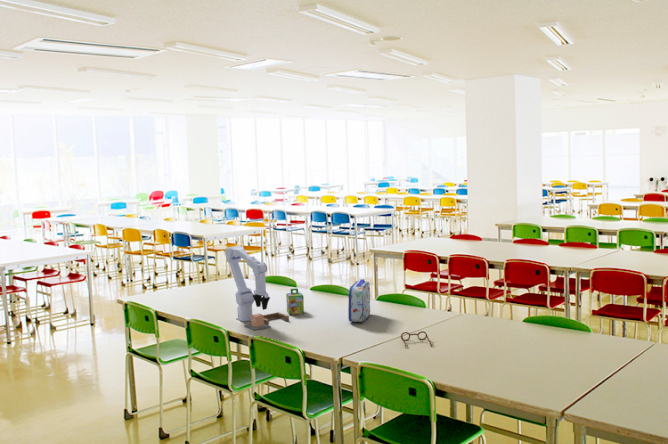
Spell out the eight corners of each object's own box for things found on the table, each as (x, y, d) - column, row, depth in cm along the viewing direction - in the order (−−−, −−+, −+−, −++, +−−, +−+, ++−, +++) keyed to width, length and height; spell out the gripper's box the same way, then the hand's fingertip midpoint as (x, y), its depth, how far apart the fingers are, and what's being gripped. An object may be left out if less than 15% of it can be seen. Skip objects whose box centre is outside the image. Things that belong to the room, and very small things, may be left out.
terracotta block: (251, 325, 325) (251, 315, 324) (259, 323, 328) (259, 313, 327) (255, 327, 321) (255, 316, 320) (263, 325, 324) (263, 315, 323)
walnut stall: (257, 321, 335) (256, 316, 335) (278, 317, 343) (278, 312, 343) (267, 325, 325) (266, 320, 325) (289, 321, 334) (288, 316, 333)
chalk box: (289, 315, 347) (288, 291, 345) (286, 311, 355) (285, 288, 354) (304, 313, 349) (303, 289, 348) (301, 310, 358) (300, 286, 356)
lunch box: (354, 312, 349) (353, 276, 346) (372, 312, 346) (371, 276, 344) (346, 324, 322) (345, 286, 320) (365, 325, 320) (364, 286, 317)
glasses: (426, 340, 291) (426, 330, 290) (432, 348, 278) (432, 338, 277) (400, 341, 290) (400, 331, 289) (405, 349, 277) (405, 339, 277)
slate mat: (244, 326, 326) (244, 325, 326) (260, 322, 332) (260, 321, 332) (254, 330, 317) (254, 329, 316) (270, 327, 322) (270, 326, 322)
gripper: (248, 283, 331) (249, 306, 332) (260, 287, 319) (261, 311, 320) (259, 281, 335) (260, 304, 336) (271, 285, 323) (272, 309, 324)
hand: (261, 308), depth 328 cm, fingers open, 7 cm apart
